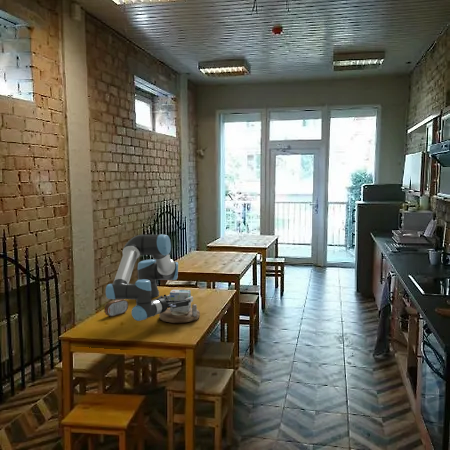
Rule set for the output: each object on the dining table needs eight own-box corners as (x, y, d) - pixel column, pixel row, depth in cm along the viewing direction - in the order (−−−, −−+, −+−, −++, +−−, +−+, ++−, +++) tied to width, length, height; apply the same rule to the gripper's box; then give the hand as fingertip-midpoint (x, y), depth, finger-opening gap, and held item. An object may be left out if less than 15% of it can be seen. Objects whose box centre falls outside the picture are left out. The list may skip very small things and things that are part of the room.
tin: (125, 311, 264) (125, 296, 263) (129, 312, 262) (129, 297, 261) (104, 317, 252) (103, 302, 251) (107, 318, 250) (107, 303, 249)
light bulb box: (191, 308, 253) (190, 289, 252) (189, 312, 246) (188, 292, 245) (172, 307, 254) (172, 289, 253) (169, 311, 247) (169, 292, 246)
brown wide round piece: (176, 308, 265) (176, 294, 264) (208, 314, 253) (208, 300, 252) (150, 318, 247) (150, 303, 246) (183, 325, 234) (183, 310, 233)
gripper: (140, 310, 241) (166, 300, 259) (175, 317, 228) (201, 307, 245) (139, 296, 240) (166, 287, 258) (175, 302, 227) (201, 293, 245)
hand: (183, 297), depth 252 cm, fingers closed on light bulb box, 12 cm apart
